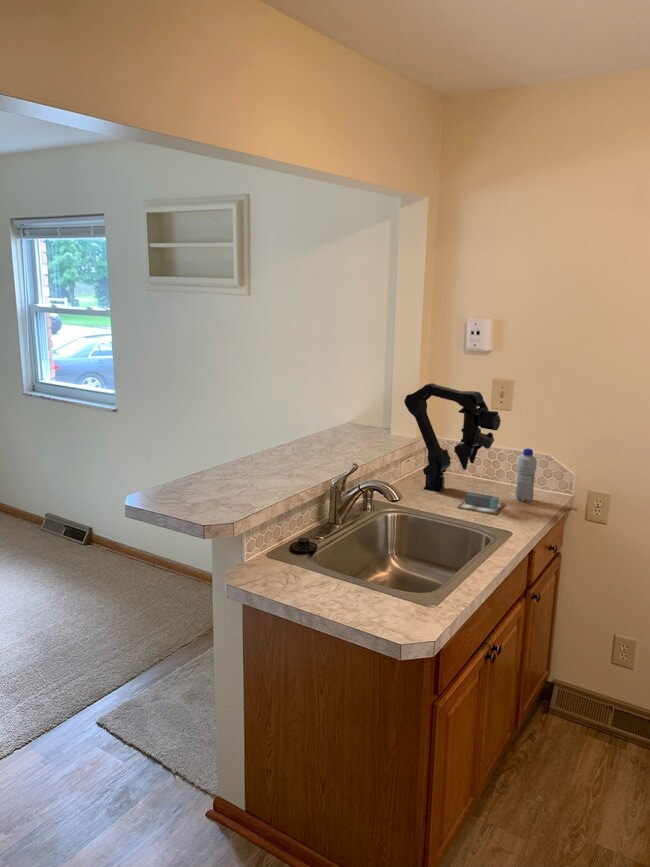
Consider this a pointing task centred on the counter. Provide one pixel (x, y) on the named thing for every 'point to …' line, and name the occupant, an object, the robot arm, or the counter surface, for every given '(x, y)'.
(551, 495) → the counter surface
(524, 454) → the bottle
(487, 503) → the teal-capped grey block
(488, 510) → the clipboard
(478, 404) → the robot arm
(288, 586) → the counter surface
